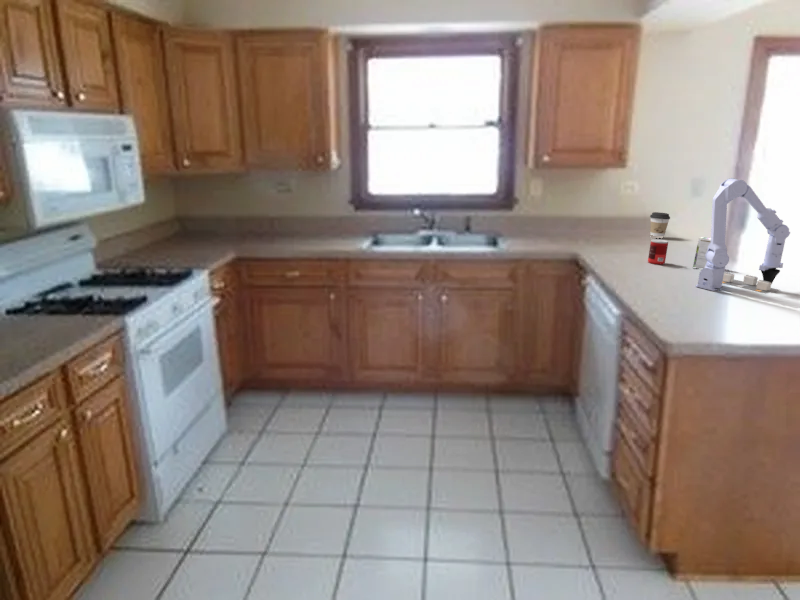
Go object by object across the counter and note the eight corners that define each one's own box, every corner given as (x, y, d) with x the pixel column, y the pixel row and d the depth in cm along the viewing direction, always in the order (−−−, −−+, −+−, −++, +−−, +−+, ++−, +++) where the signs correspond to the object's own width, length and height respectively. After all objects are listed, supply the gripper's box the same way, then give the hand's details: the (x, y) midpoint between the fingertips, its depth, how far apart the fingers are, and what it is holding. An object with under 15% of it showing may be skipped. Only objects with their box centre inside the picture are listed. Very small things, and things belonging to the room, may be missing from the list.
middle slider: (752, 285, 253) (754, 277, 252) (743, 283, 257) (744, 275, 256) (756, 284, 255) (758, 276, 254) (746, 282, 258) (748, 274, 257)
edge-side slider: (766, 290, 245) (767, 282, 244) (756, 288, 248) (757, 280, 248) (770, 289, 247) (771, 281, 246) (759, 287, 250) (761, 279, 249)
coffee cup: (648, 239, 365) (652, 214, 361) (644, 236, 376) (648, 211, 372) (669, 240, 363) (673, 215, 359) (664, 237, 374) (668, 212, 370)
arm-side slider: (729, 282, 257) (730, 274, 256) (720, 280, 260) (721, 272, 259) (733, 281, 259) (734, 273, 258) (723, 279, 262) (725, 271, 261)
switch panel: (764, 295, 243) (765, 293, 242) (711, 283, 260) (712, 280, 260) (780, 292, 249) (780, 289, 249) (727, 280, 267) (727, 277, 266)
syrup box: (695, 266, 292) (701, 236, 289) (709, 268, 289) (714, 238, 285) (692, 268, 288) (697, 237, 284) (706, 270, 285) (711, 239, 281)
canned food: (667, 263, 297) (670, 240, 294) (660, 265, 291) (664, 242, 288) (651, 260, 302) (654, 238, 299) (645, 262, 296) (648, 240, 293)
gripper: (775, 256, 238) (767, 290, 242) (793, 253, 246) (786, 286, 250) (756, 253, 244) (749, 286, 247) (775, 250, 252) (768, 282, 255)
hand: (766, 286), depth 249 cm, fingers closed
